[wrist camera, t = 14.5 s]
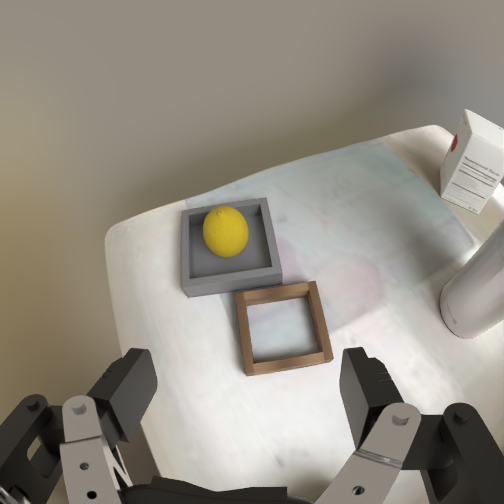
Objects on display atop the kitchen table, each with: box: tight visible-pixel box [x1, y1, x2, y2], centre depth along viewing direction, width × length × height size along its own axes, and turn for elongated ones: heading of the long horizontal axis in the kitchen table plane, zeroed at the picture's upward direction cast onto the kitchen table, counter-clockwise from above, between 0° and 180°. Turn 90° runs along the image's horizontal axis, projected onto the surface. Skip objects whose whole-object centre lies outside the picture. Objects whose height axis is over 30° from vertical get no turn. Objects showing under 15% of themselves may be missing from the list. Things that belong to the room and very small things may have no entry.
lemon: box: [203, 206, 248, 258], centre depth 36 cm, size 6×6×8 cm
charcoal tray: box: [181, 198, 282, 298], centre depth 38 cm, size 12×12×3 cm
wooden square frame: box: [235, 281, 334, 376], centre depth 32 cm, size 10×10×2 cm
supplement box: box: [440, 109, 504, 214], centre depth 37 cm, size 9×9×15 cm
